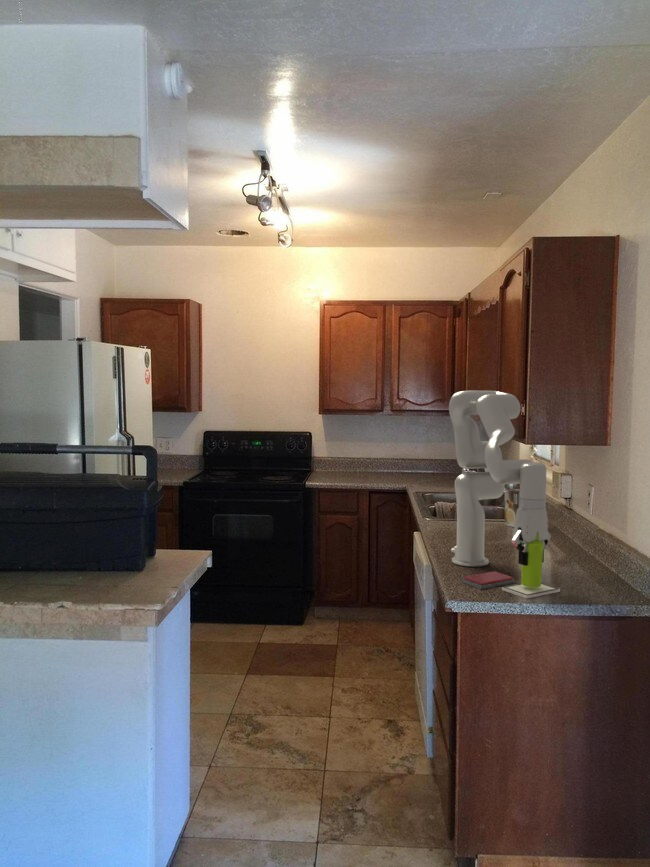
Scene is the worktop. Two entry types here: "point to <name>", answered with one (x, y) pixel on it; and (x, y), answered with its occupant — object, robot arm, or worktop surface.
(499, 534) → the worktop surface
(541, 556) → the soap dispenser
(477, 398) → the robot arm
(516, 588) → the marked card
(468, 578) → the ink pad
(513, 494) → the coffee box
